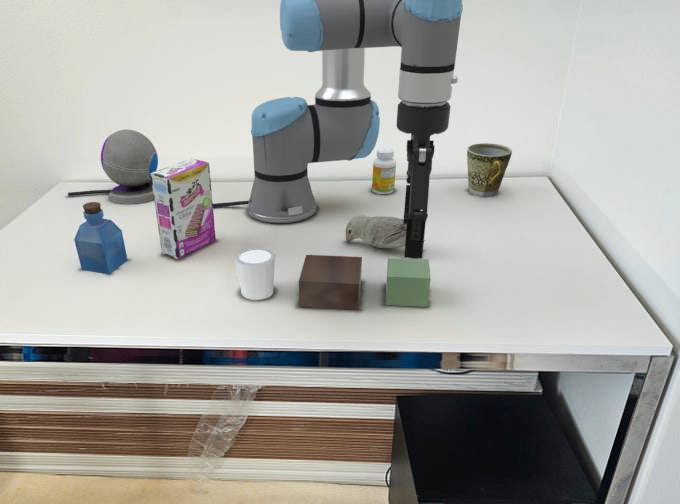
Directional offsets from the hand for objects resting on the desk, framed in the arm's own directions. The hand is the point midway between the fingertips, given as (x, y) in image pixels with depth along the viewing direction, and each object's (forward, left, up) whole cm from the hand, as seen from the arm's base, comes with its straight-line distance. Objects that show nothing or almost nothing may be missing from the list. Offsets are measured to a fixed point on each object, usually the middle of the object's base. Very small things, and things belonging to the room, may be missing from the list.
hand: (412, 239), depth 101 cm
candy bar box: (-45, -8, -11) cm, 47 cm away
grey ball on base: (-78, +6, -11) cm, 79 cm away
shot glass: (-22, -14, -11) cm, 28 cm away
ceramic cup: (-9, +54, -11) cm, 56 cm away
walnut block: (-11, -7, -11) cm, 17 cm away
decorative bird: (-13, +14, -11) cm, 22 cm away
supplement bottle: (-30, +42, -11) cm, 53 cm away
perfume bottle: (-53, -23, -11) cm, 59 cm away
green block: (0, 0, -11) cm, 11 cm away
